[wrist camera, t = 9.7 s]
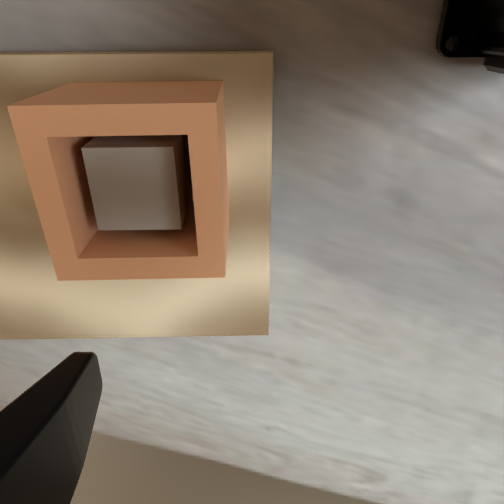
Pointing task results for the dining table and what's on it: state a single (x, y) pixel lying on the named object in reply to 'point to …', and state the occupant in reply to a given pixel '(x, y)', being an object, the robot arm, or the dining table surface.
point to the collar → (77, 187)
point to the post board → (141, 295)
